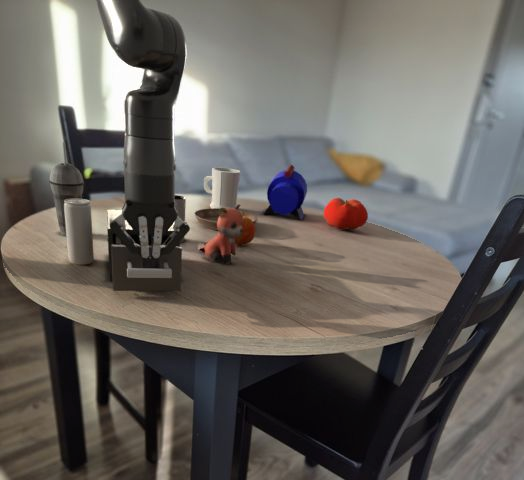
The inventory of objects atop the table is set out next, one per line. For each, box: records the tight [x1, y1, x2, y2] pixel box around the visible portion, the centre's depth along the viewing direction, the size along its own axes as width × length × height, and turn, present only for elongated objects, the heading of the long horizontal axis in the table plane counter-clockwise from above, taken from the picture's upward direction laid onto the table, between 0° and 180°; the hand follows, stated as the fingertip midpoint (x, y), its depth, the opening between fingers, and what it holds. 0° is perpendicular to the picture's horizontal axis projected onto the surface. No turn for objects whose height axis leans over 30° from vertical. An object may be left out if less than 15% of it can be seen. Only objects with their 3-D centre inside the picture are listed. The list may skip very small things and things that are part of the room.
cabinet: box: [106, 209, 181, 282], centre depth 95 cm, size 15×13×10 cm
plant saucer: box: [193, 207, 258, 231], centre depth 135 cm, size 18×18×3 cm
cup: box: [203, 167, 241, 209], centre depth 151 cm, size 10×9×12 cm
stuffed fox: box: [197, 204, 243, 265], centre depth 106 cm, size 8×11×12 cm
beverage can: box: [64, 198, 95, 266], centre depth 94 cm, size 5×5×12 cm
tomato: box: [323, 197, 369, 231], centre depth 146 cm, size 14×13×9 cm
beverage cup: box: [49, 141, 85, 237], centre depth 109 cm, size 7×7×20 cm
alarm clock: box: [263, 164, 308, 221], centre depth 153 cm, size 12×12×15 cm
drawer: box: [111, 234, 183, 292], centre depth 86 cm, size 19×12×8 cm, turn 16°
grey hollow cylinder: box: [175, 194, 187, 243], centre depth 115 cm, size 4×4×10 cm
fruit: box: [234, 211, 256, 246], centre depth 119 cm, size 7×7×8 cm
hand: (150, 277), depth 80 cm, fingers closed
